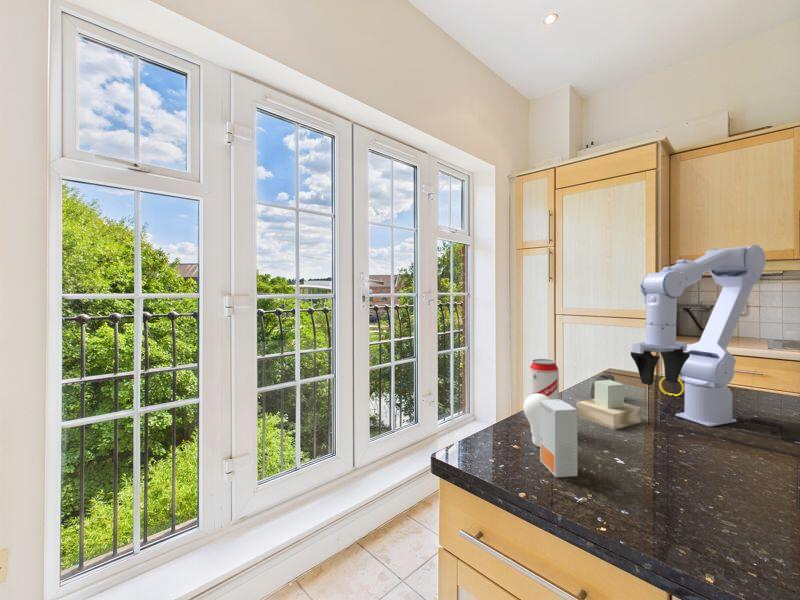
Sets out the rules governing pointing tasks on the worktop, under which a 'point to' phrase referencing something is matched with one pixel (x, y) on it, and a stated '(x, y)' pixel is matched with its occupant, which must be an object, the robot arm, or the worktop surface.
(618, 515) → the worktop surface
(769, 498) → the worktop surface
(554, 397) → the beer can
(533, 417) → the lightbulb
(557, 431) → the skincare box
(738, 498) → the worktop surface
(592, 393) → the perforated stone tool
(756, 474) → the worktop surface
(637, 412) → the maple block
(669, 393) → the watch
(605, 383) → the sage block
